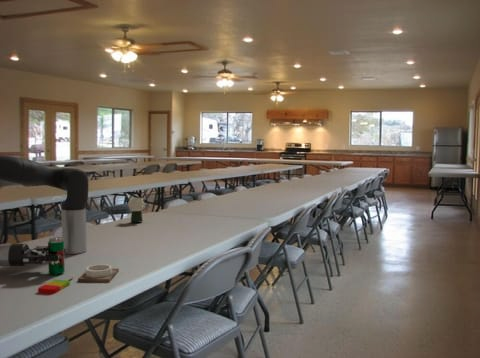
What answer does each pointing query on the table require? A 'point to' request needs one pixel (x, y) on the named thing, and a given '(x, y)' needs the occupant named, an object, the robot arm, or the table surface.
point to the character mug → (136, 209)
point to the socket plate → (98, 273)
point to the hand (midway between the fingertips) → (61, 254)
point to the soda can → (58, 248)
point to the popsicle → (54, 286)
